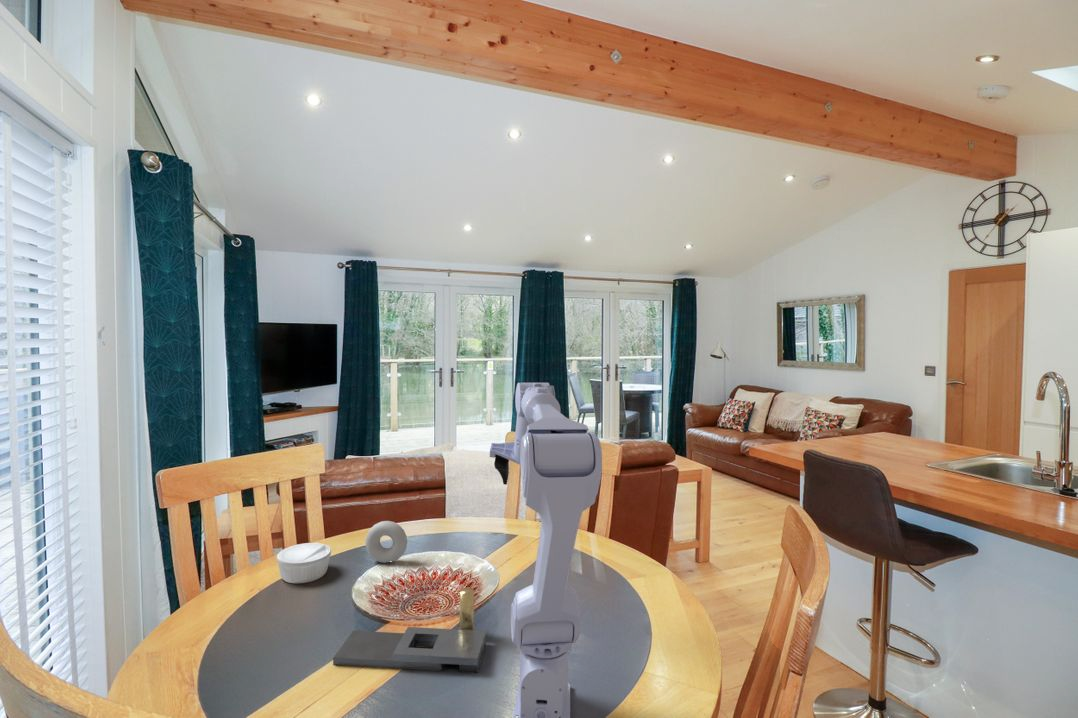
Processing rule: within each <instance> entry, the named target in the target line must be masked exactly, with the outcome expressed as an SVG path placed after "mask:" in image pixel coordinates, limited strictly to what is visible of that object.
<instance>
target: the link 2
mask: <svg viewBox="0 0 1078 718" xmlns="http://www.w3.org/2000/svg"><path fill="white" fill-rule="evenodd" d="M486 632H487V631H486V630H477V629H476V630H475V629H474V630H459V629H455V628H438V627H437V628H436V627H435V628H434V627H420V626H419V627H418V626H417V627H416V626H415V627H414V626H408V627H407V628H406V630H405V631H404V632H403V633H404V635H403V637H402V638H401V640H400V642H399V644H398V645H397V647H396V649H395V651H394V652H393V661H403V662H421V663H439V664H443V665H459V666H458V668H459V669H458V672H459V673H470V674H471V673H474V674H475V673H476V674H478V672H479V669H480V664H481V661H482V659H483V654H484V650H485V648H486V635H487V634H486ZM415 640H422V641H436V642H435V645H434V647H433V648H426V647H415V648H411V647H412V645H413V643H414V641H415Z"/></svg>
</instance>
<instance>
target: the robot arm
mask: <svg viewBox="0 0 1078 718" xmlns="http://www.w3.org/2000/svg"><path fill="white" fill-rule="evenodd" d="M514 401H515V410H516V424H515V432H514V433H515V434H514V441H510V442H501V443H498V442H497V443H493V442H492V443H491V445H490V449H489V458H493V459H494V458H495V459H494V463H493V464H494V465H493V466H494V468H495V469H496V471H498V473H499V474H500V477H501V479H502V482H503V483H502V484H503V485H505V486H506V485H508V481H509V476H510V475H509V474H510V473H509V472H510V470H509V469H510V468H509V467H510V465H509V464H510V461H511V462H513V463H515V464H518V465H519V466H520V474H521V481H522V482H521V484H522V485H521V486H522V496H523V498H524V502H525V503H524V504H525V506H526V507H527V508H530V509H531V510H533V511H535V512H536V513H537V514H538V515H539V519H540V522H541V523H540V530H539V537H538V545H537V552H536V559H535V567H534V575H533V581H532V582H533V583H532V584H530V585H528V586H526V587H523V588H522V589H520V590H518V591H516V592H515V596H514V597H513V601H512V603H511V605H510V633H511V634H510V635H511V641H512V644H514V645H515V646H514V647H516V648H517V647H519V681H518V684H517V685H518V686H517V693H516V698H515V699H516V700H515V705H514V706H515V707H514V712H513V718H516V716H519V717H518V718H571V683H569V652H572V644H575V643H577V642H578V640H579V638H580V636H581V616H582V614H581V613H582V611H581V605H580V600H579V596H578V594H577V591H576V589H574V588H573V587H570V586H569V585H568V580H569V576H570V571H571V565H572V559H573V555H574V551H575V545H576V539H577V534H578V531H579V527H580V522H581V519H582V514H583V512H584V511H586V510H588V509H589V508H590V507H591V506H593V505H595V503H596V500H597V496H598V493H599V488H600V486H601V485H600V483H601V479H602V475H603V452H602V446H601V441H600V439H599V437H598V436H597V435H596V433H595V432H593V431H589V430H590V429H589V427H588V426H587V424H584V423H581V422H579V421H576V420H573V419H571V418H568V417H566V416H565V415H563V413H561V405H560V403H559V401H558V400H557V398H556V392H555V386H554V385H550V383H549V382H517V384H516V388H515V399H514Z"/></svg>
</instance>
